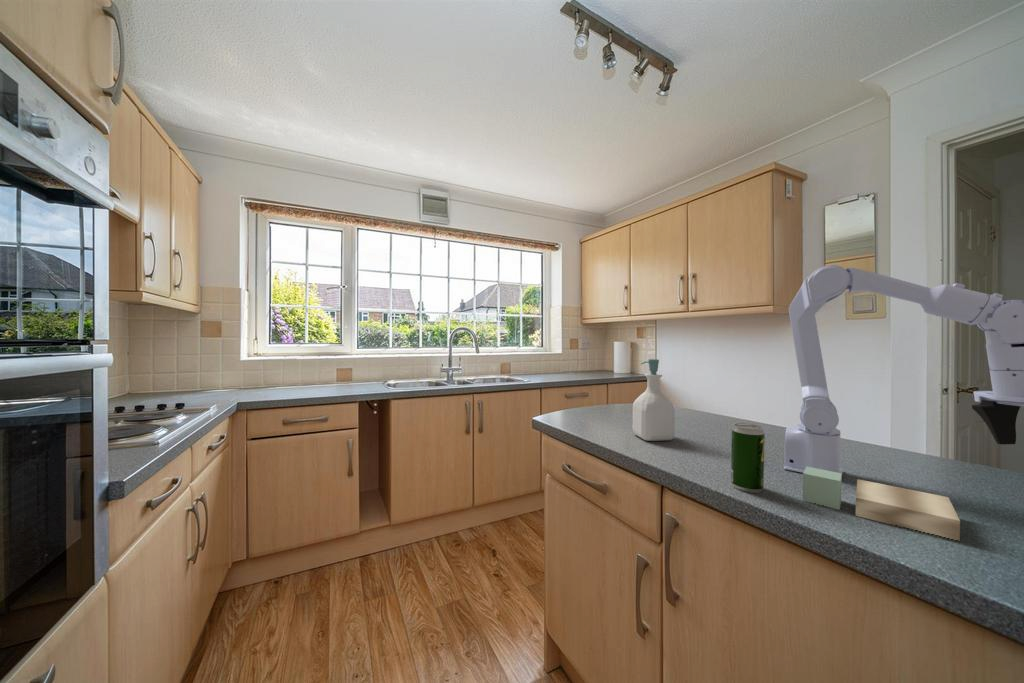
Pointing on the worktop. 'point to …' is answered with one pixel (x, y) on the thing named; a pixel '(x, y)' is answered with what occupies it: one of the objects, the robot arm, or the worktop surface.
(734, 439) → the green soda can
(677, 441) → the worktop surface
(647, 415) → the soap bottle
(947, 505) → the birch plinth
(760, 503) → the worktop surface
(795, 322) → the robot arm
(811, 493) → the sage cube
